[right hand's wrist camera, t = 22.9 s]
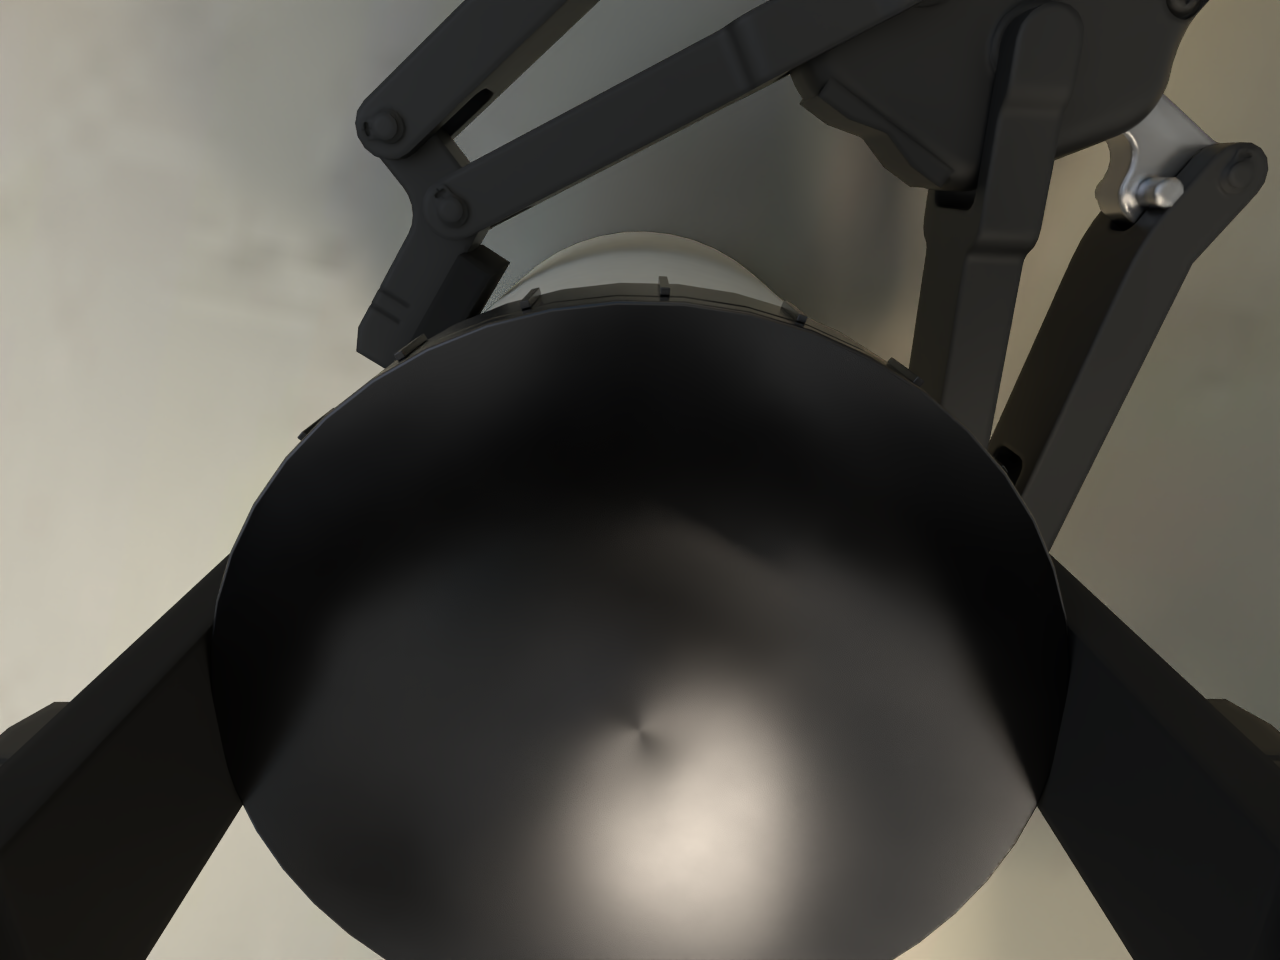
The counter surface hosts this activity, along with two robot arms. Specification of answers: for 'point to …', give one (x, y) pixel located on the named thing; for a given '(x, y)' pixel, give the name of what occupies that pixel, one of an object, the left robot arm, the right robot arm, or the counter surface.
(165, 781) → the right robot arm
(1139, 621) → the counter surface
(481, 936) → the lid
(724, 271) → the jar
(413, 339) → the left robot arm
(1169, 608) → the counter surface
